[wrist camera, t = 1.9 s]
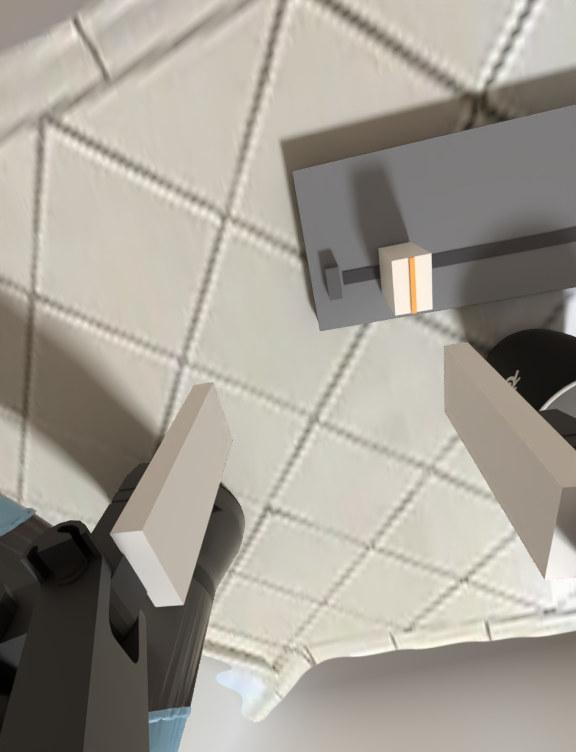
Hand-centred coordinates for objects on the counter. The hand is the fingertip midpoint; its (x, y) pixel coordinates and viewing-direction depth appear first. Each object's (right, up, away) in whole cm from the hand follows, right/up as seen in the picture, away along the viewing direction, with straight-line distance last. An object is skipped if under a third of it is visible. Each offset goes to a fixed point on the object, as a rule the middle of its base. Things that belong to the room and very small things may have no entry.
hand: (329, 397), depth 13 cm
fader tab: (+7, +9, +14) cm, 18 cm away
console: (+15, +13, +14) cm, 25 cm away
